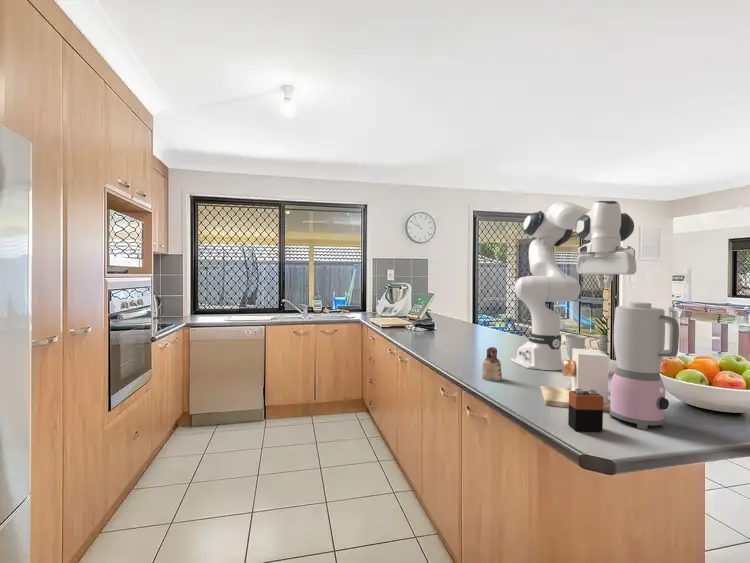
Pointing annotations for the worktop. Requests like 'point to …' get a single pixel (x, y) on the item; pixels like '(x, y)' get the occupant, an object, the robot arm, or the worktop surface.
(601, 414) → the battery
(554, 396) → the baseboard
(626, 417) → the blender
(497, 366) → the figurine
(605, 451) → the worktop surface
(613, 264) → the robot arm
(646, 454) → the worktop surface
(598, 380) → the switch box
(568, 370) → the knob
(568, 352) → the chalice
